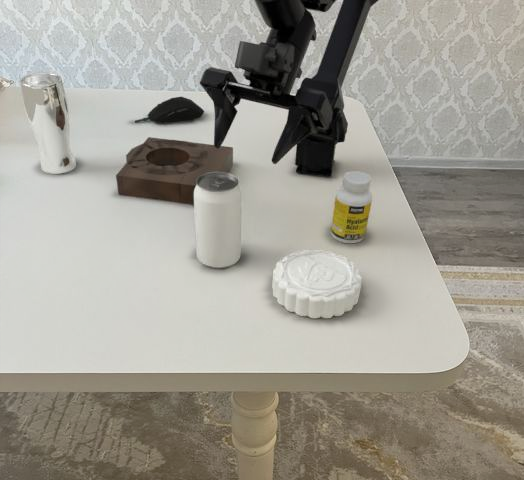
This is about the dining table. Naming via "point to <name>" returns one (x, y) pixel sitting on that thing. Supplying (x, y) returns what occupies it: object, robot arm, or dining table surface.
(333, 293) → the mooncake
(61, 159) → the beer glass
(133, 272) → the dining table surface
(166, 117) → the gaming mouse
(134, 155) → the holder board
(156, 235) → the dining table surface
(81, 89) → the dining table surface
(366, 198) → the supplement bottle
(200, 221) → the can
